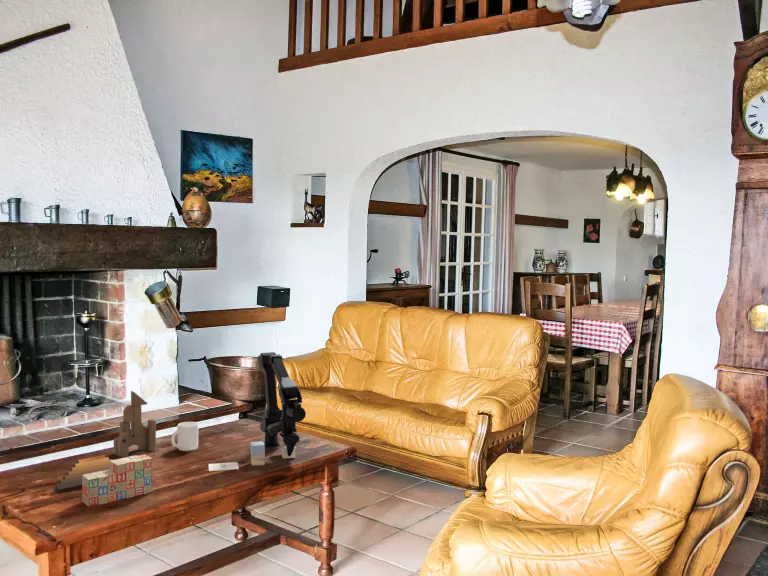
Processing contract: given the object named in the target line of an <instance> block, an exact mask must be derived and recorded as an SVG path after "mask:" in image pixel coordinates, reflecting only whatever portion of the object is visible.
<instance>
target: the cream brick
mask: <svg viewBox="0 0 768 576" xmlns="http://www.w3.org/2000/svg"><path fill="white" fill-rule="evenodd" d="M281 457H282V459H295V458H296V446H295V447H294V450H293V452H292V454H291V456H288V453H287V447H286V445H285V444H281Z"/></svg>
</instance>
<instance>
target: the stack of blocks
mask: <svg viewBox="0 0 768 576" xmlns="http://www.w3.org/2000/svg"><path fill="white" fill-rule="evenodd" d="M110 460H111V459H110ZM150 492H152V493H153V458H152V457H150V456H149V455H147V454H143V453H142V454H139V455H130V456H126V457H121V458H117V459H112V460H111V461H110V470H105V471H99V472H94V473H90V474H85V475H82V488H81V493H82V494H81V497H82V503H84V504H85V505H86V506H87V507H88V508H90V506H91V507H95V506H101V505H104V504H109V503H113V502H118V501H121V500H120V499H122V500H126V499H130V498H135V497H139V496H143V494H144V495H147V493H148V494H151V493H150ZM138 495H139V496H138ZM134 496H135V497H134ZM129 497H130V498H129ZM125 498H126V499H125ZM117 500H118V501H117Z"/></svg>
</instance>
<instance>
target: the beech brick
mask: <svg viewBox="0 0 768 576" xmlns="http://www.w3.org/2000/svg"><path fill="white" fill-rule="evenodd" d="M265 457H266V454H265V455H258V456H252V455H251V454H250V463H251V464H250V465H251V466H264V465H266V464H265V463H266V462H265V460H266V458H265Z"/></svg>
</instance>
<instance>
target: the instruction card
mask: <svg viewBox="0 0 768 576" xmlns="http://www.w3.org/2000/svg"><path fill="white" fill-rule="evenodd" d="M235 469H236V470H239V469H240V468H239V463H238V461H236V462H233V461H232V462H221V463H219V462H218V463H208V472H216V471H219V472H220V471H232V470H233V471H234V470H235Z"/></svg>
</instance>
